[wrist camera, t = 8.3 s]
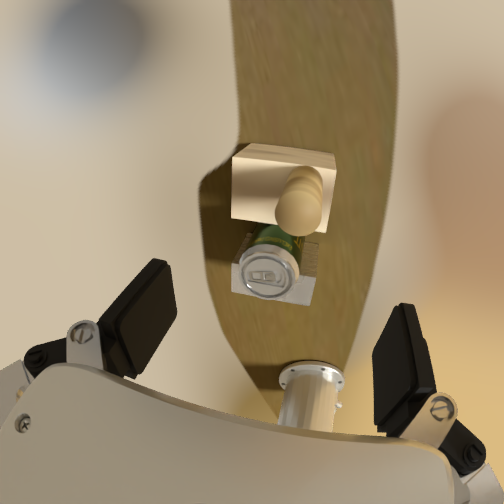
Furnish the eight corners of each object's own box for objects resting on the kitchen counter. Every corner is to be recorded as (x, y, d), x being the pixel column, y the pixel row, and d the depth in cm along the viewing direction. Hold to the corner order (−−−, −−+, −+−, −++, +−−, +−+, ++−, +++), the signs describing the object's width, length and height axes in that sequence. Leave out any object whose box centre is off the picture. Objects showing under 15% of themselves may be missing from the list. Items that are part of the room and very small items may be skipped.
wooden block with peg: (325, 204, 31) (324, 278, 20) (248, 193, 33) (203, 257, 21) (333, 153, 28) (340, 200, 16) (251, 143, 30) (200, 181, 18)
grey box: (313, 270, 37) (309, 306, 31) (246, 258, 38) (231, 291, 32) (318, 244, 34) (316, 277, 29) (247, 232, 36) (231, 263, 30)
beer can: (265, 236, 36) (239, 299, 26) (261, 196, 33) (231, 249, 23) (307, 238, 34) (298, 304, 25) (307, 197, 32) (298, 252, 22)
